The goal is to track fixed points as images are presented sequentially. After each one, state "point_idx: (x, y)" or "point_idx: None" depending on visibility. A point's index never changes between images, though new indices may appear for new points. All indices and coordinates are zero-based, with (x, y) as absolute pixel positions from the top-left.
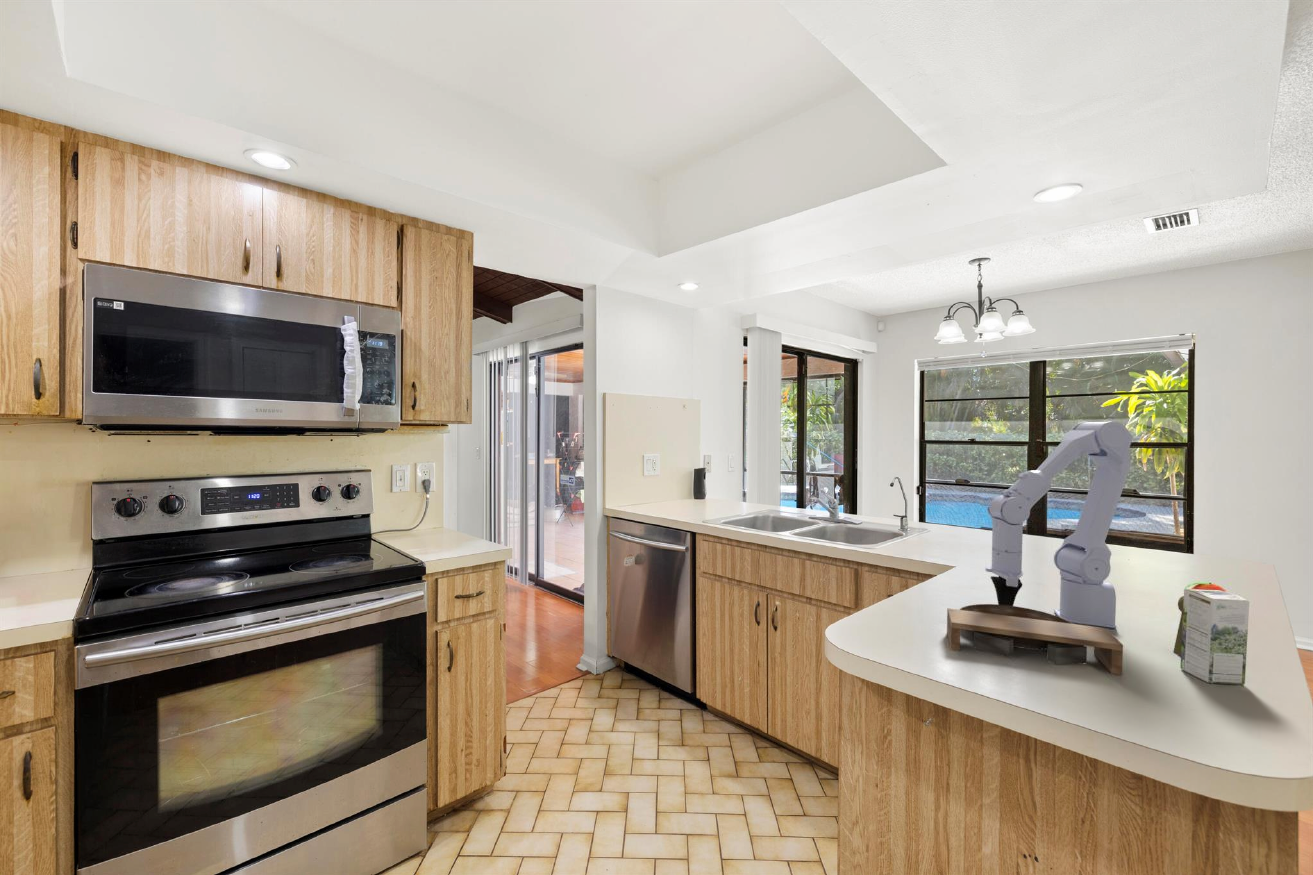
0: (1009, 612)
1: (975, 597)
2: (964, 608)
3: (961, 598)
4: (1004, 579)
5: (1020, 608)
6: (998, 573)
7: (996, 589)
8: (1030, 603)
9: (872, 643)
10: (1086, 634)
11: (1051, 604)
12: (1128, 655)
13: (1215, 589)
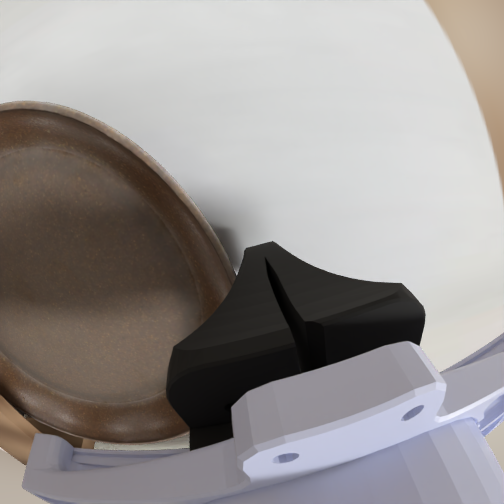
0: (220, 290)
1: (479, 125)
2: (31, 111)
3: (445, 66)
4: (193, 448)
5: None
6: (116, 488)
7: (231, 309)
8: (468, 289)
9: None
10: (12, 446)
11: (466, 326)
12: (141, 449)
13: None
